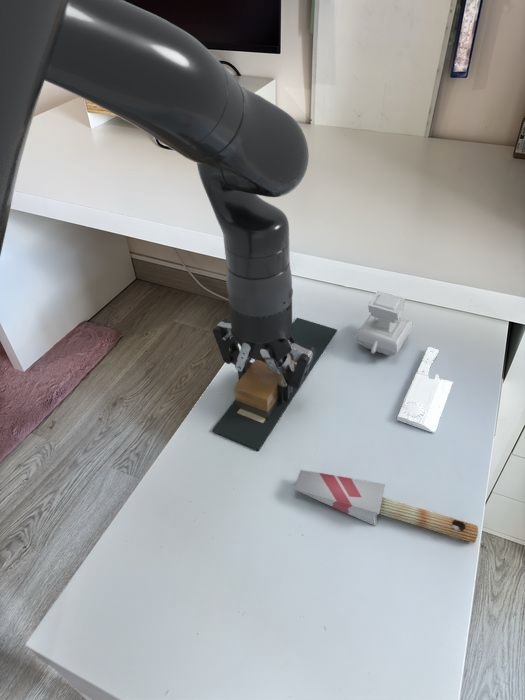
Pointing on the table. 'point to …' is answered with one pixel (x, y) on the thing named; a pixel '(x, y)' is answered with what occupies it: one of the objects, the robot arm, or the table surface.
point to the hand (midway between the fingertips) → (265, 391)
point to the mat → (257, 428)
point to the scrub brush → (258, 390)
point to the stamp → (384, 325)
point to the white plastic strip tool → (425, 396)
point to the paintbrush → (375, 503)
